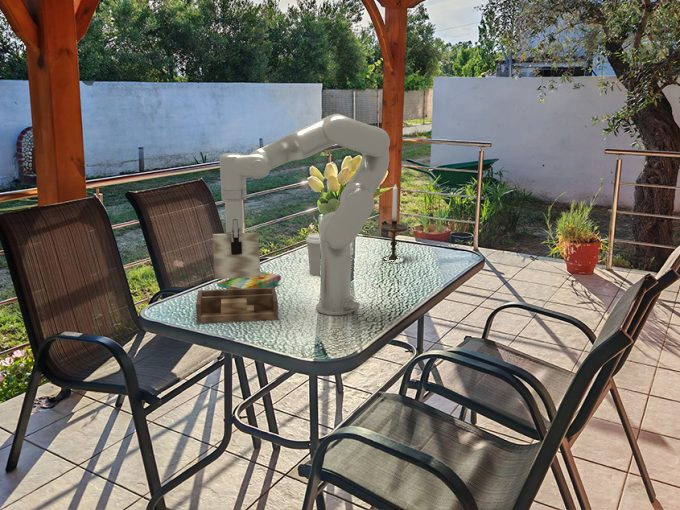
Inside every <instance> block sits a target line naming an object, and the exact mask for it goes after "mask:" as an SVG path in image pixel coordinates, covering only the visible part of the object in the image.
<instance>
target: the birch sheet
mask: <svg viewBox="0 0 680 510" xmlns="http://www.w3.org/2000/svg"><path fill="white" fill-rule="evenodd" d="M238 235H239V234H238ZM240 238H241V242H242V254H240V255H232V254H231V242H232V238H231V232H229V233H213V234H212V247H213V248H212V253H213V254H212V255H213V269H214V270H213V271H214V280H228V279H232V278H252V277H260V271H261V262H260V259H261V258H260V232H256V231H255V232H240ZM233 242H234V241H233Z"/></svg>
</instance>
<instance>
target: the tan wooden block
mask: <svg viewBox="0 0 680 510" xmlns="http://www.w3.org/2000/svg"><path fill="white" fill-rule="evenodd" d="M249 313H254V305H247V300H246V298H239V299H221V315H228V314H249Z"/></svg>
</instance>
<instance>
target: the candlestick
mask: <svg viewBox="0 0 680 510" xmlns="http://www.w3.org/2000/svg"><path fill="white" fill-rule="evenodd" d="M397 180H398V178H397V177H395V179H394V181H393V182H394V186H393V187H392V209H391V210H392V211H391V212H392V213H391V214H392V215H391V219H389V221H390V222H391V223H386V224H382V225H381V226H380V230H382V231H384V232H390V233H391V234H392V236H391V237H392V239H391V241H390V242H389V243H390V246H391V248H390V250H391V254H390V255H387V256H383V257H382V259H383V260H384V261H387V260H385V259H384V258H386V257H388V256H390V257H389V260H396V259H398V258H397V256H398V255H396V250H397V249H398V248H397V247H396V246H397V245H398V242H397V241H396V238H397V237H396V234H397V233H401V232H406V231H408V225H404V224H399V223H398V222H399V221H400V219H397V218H398V193H399V192H398V187H397ZM391 262H392V261H391ZM393 262H394V261H393Z"/></svg>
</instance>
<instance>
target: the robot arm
mask: <svg viewBox="0 0 680 510" xmlns="http://www.w3.org/2000/svg"><path fill="white" fill-rule="evenodd" d="M390 144H391V139H390V135H389V134H388V133H387V131H386V130H384V129H383V128H381V127H379V126H375V125H371V124H368V123H365V122H362V121H359V120H356V119H353V118H351V117H349V116H346V115H344V114H340V113H334V114H330V115H328V116H325V117H323V118H321V119H319V120H317V121H315V122H313V123H310V124H308V125H307V126H304V127H301V129H298V130H296V131H294V132H292V133H289V134H287V135H285V136H283V137H282V138H279V139H278V140H275V141H272V142H271V143H268V144H266V145H264V146H262V147H260V148H258V149H255V150H254V151H252V152H251V153H250V154H242V153H240V152H230V153H229V152H227V153H222V154H221V155H220V156H219V171H220V172H219V174H220V175H219V177H220V191H221V193H220V194H221V201H225V202H224V208H225V209H224V210H225V211H224V212H225V214H224V215H225V228H226V229H225V231H226V232H225V233H226V234H230V233H231V238H232V242H231V254H232V255H240V254H242V242H241V238H240V233H243V229H244V201H246V200H247V199H248V198H247V179H256V180H257V179H263V178H266V177H267V176H268V175H269V174H270V171H271V170H274V169H276V168H278V167H279V166H282V165H284V164H286V163H290V162H292V161H298V160H299V161H300V160H304V159H307V158H309V157H311V156H314V155H315V154H318V153H320V152H322V151H324V150H326V149H328V148H329V149H330V148H332V147H333V146H335V145H337V146H340V147H342V148H344V149H347V150H351V151H354V152H358V153H361V161H360V163H359V165H358V167H357V169H356V170H355V171H354V173H353V175H352V176H351V178H350V180H349V181H348V183H347V184H346V185H345V187H344V188H343V189H342V191H341V194H340V195H339V202H340V204H338V207H337V208H336V210H334V211H330V212H328V213H327V214H325V215H324V216H323V217H322V219H321V221H320V225H319V233H320V242H321V276H320V302H318V303H317V304H315V310H316V311H317V312H318V313H320V314H322V315H327V316H343V315H348V314H352V313H353V312H354V311H358V310H359V308H360V302H358V301H354V296H353V295H351V276H352V275H351V274H352V273H351V272H352V271H351V265H352V264H351V263H352V245H351V244H352V243H353V242H354V241H355V239H356V238H357V236H358V235H359V234H360V232H361V231H362V229H363V227H364V226H365V224H366V223H367V222H368V220H369V218H370V217H371V214H372V213H373V210H374V208H375V198H374V195H375V194H376V192H377V190H378V188H379V187H380V185H381V183H382V182H383V180H384V178H385V176H386V174H387V172H388V169H389V164H390V150H389V148H390ZM238 234H239V235H238ZM233 241H234V242H233Z"/></svg>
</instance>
